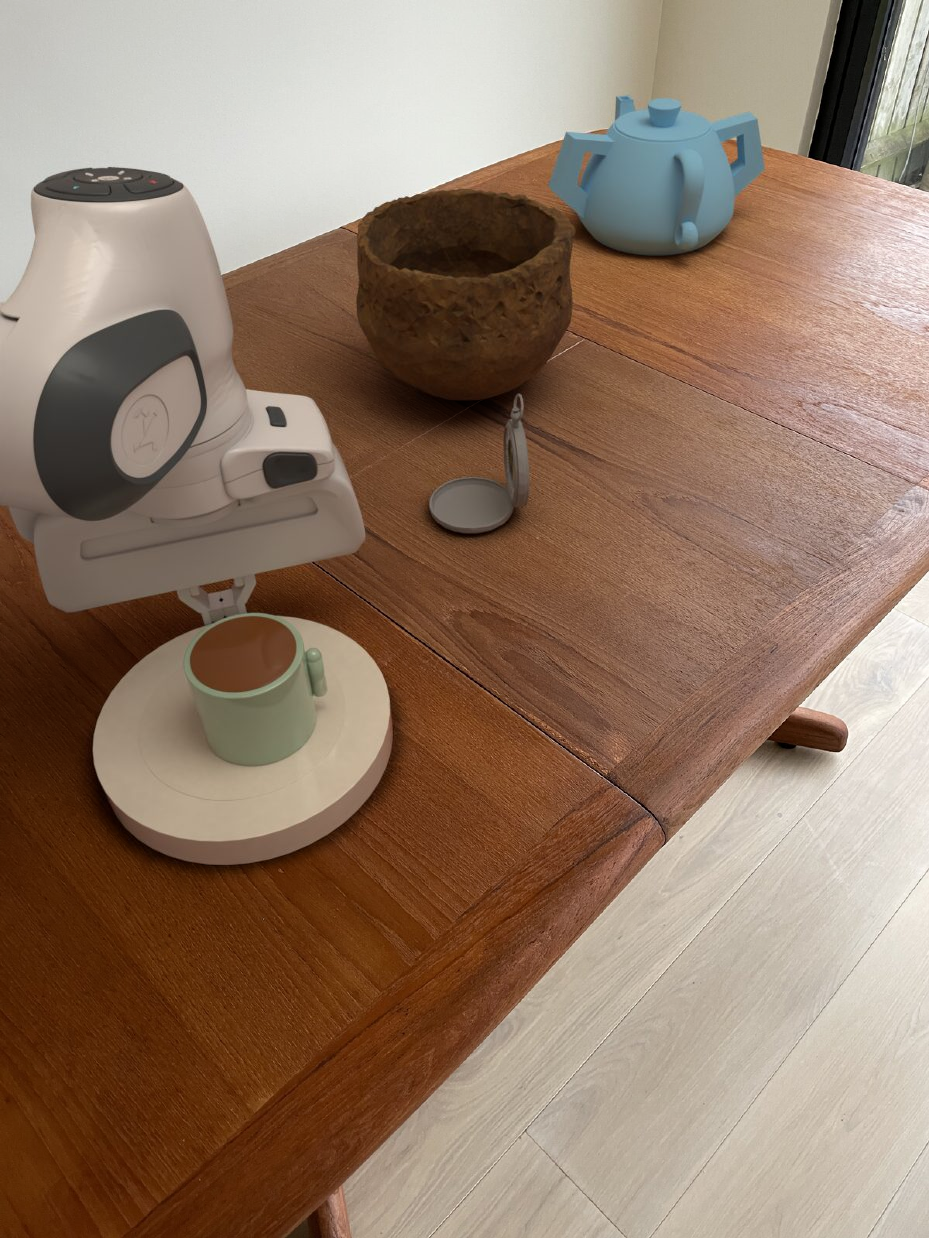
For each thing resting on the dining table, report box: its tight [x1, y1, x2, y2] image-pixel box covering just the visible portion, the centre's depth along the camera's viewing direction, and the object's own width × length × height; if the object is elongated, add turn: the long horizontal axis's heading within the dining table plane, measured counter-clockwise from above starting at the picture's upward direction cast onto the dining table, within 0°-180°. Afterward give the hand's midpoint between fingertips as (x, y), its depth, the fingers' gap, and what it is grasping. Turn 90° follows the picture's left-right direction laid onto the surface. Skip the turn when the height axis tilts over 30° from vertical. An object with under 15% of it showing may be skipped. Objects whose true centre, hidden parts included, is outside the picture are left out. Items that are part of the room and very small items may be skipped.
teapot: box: [547, 94, 766, 257], centre depth 113 cm, size 19×19×14 cm
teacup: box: [183, 612, 327, 766], centre depth 60 cm, size 8×7×6 cm
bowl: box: [356, 188, 577, 401], centre depth 89 cm, size 19×19×15 cm
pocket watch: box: [428, 393, 531, 534], centre depth 77 cm, size 8×8×10 cm
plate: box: [92, 615, 394, 866], centre depth 63 cm, size 18×18×2 cm
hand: (226, 618), depth 69 cm, fingers closed, pressing on plate
